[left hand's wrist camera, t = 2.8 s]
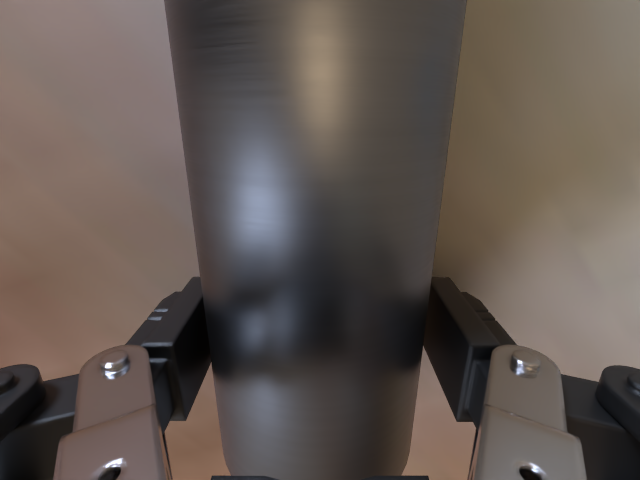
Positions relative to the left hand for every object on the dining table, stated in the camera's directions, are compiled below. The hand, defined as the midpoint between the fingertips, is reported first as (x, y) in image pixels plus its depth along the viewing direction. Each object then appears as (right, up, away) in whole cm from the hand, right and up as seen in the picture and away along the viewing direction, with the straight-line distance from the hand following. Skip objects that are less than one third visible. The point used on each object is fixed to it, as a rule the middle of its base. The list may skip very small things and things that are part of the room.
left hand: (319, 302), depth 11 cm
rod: (0, +9, -1) cm, 9 cm away
